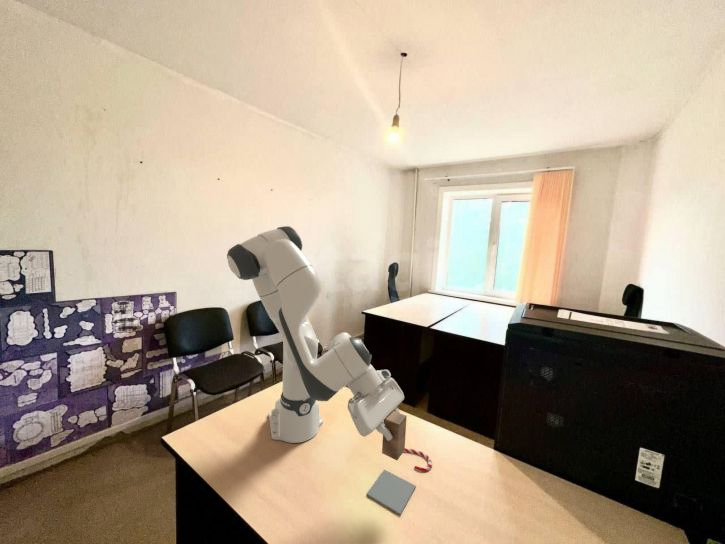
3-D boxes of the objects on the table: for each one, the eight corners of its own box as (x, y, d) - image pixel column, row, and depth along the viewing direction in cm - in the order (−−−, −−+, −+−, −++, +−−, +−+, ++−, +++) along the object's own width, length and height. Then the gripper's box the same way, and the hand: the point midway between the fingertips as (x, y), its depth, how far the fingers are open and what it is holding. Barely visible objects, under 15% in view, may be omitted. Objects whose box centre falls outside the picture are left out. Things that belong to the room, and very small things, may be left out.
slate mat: (366, 495, 77) (366, 493, 77) (384, 470, 86) (384, 469, 86) (400, 515, 72) (400, 513, 72) (415, 487, 80) (415, 485, 80)
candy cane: (389, 440, 98) (434, 454, 92) (389, 444, 98) (434, 458, 92) (382, 456, 90) (430, 472, 85) (381, 460, 91) (429, 476, 85)
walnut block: (382, 453, 77) (383, 418, 76) (389, 443, 80) (391, 410, 79) (397, 460, 74) (399, 424, 73) (404, 450, 78) (406, 415, 77)
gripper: (352, 397, 70) (385, 451, 66) (390, 368, 88) (419, 409, 83) (337, 408, 73) (368, 460, 69) (377, 377, 90) (404, 418, 86)
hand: (396, 432), depth 76 cm, fingers closed on walnut block, 4 cm apart
